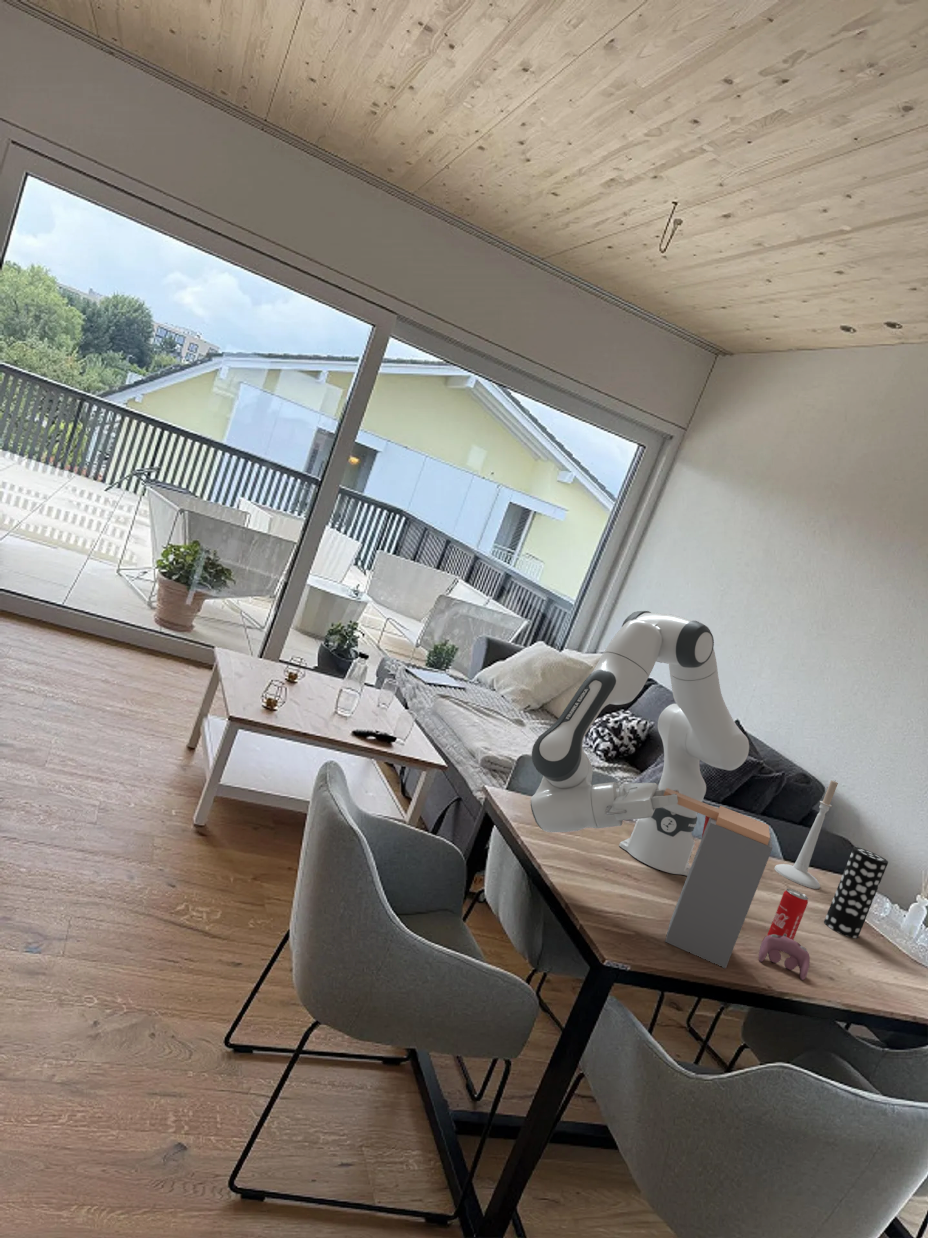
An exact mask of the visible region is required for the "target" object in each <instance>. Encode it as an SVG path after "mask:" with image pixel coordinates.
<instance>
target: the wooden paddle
mask: <svg viewBox="0 0 928 1238" xmlns="http://www.w3.org/2000/svg"><path fill="white" fill-rule="evenodd" d="M670 794H677V796H678V803H677V804H678V805H681V806H683V807H685V808H688V809H690V810H693V811H695V812H698V814H700V815H703V816H707V817H710V818H712V819H715V820H716V825H719V826H721V827H724V828H726V829H729V830H731V831H734V832H736V833H738V834H741V835H743V836H746V837H748V838H751V839H753V840H755V841H758V842H760V843H763V844H765V845H768V842H769V840H770V833H771V832H770V827H769V826H770V825H769V824H768V823H767V824H766V823H765V822H762V821H760V820H757V819H754V818H752V817H750V816H747V815H745V814H742V813H739V812H737V811H734V810H732V809H730V808H727V807H724V806H722V805H719V807H718V808H719V809H718V808H715V807H716V806H712V805H710V804H708V803H705V802H703V801H702V802H700V801H698V800H696V799H693V798H691V797H688V796H686V795H683V794H681V793H678V792H676V791H673V790H671V789H668V788H666V790H665V793H664V795H663V796H666V795H670Z"/></svg>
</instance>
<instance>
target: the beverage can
mask: <svg viewBox="0 0 928 1238" xmlns="http://www.w3.org/2000/svg"><path fill="white" fill-rule="evenodd" d="M808 900H809V897H808V896H807V895H806V894H804V893H802V892H800V891H798V890H796V889H793V888H788V887H787V888H786V889H785V890H784V891H783V893H782V896H781V898H780V901H779V903H778V906H777V909H776V912H775V914H774V917H773V919H772V922H771V924H770V927H769V930H768V932H767V935H766V936H768V935H772V934H775V935H780V936H785V937H787V938H790V939H792V940H794V938H795V936H796V934H797V932H798V929H799V926H800V924H801V921H802V919H803V916H804V914H805V911H806V909H807V906H808V903H809V901H808Z"/></svg>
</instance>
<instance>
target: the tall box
mask: <svg viewBox="0 0 928 1238" xmlns="http://www.w3.org/2000/svg"><path fill="white" fill-rule="evenodd" d="M769 833H770V840H769V842H768V845H765V844H763V843H760V842H758V841H755V840H753V839H751V838H748V837H746V836H743V835H741V834H738V833H736V832H734V831H731V830H729V829H726V828H724V827H721V826H719V825H716V820H715V819H712V818H709V821H708V823H707V826H706V829H705V831H704V834H703V836H702V835H701V839H700V842H699V845H698V847H697V850H696V851H695V852H696V853H695V855H694V857H693V860H692V864H691V865H690V867H691V868H690V871H689V873H688V876H686V879H685V881H684V885H683V886H682V889H681V892H680V894H679V896H678V899H677V902H676V906H675V907H674V911H673V913H672V915H671V917H670V921H669V924H668V928H667V933H666V936H665V943H668V944H669V945H672V946H674V947H675V948H678V949H680V950H683V951H685V952H687V953H689V952H690V954H691V955H694V956H696V955H697V956H696V957H698V956H699V958H700V957H701V958H700V959H703V960H705V959H706V961H707V962H709V961H710V962H709V963H712V964H714V963H715V964H714V965H716V964H718V965H719V967H720V966H722V967H721V968H723V969H725V968H726V969H727V966H728V964H729V961H730V959H731V956H732V953H733V951H734V948H735V945H736V943H737V940H738V938H739V936H740V932H742V931H741V930H742V928H743V925H744V923H745V921H746V917H747V915H748V912H749V909H750V907H751V905H752V902H753V900H754V897H755V894H756V892H757V889H758V887H759V884H760V882H761V879H762V876H763V874H764V871H765V869H766V866H767V863H768V861H769V858H770V856H771V854H772V852H773V847H774V846H773V842H772V834H771V832H769ZM718 965H717V966H718Z"/></svg>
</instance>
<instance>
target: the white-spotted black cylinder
mask: <svg viewBox="0 0 928 1238" xmlns="http://www.w3.org/2000/svg"><path fill="white" fill-rule="evenodd" d="M888 864H889V861H888V860H887V859H886V858H884V857H882V856H881V855H879V854H876V853H875V852H873V851H869V850H867V849H865V848H861V847H859V846H854V847H853V848H852V850H851V853H850V855H849V858H848V860H847V863H846V866H845V868H844V871H843V872H842V876H841V878H840V880H839V883H838V885H837V888H836V890H835V893H834V895H833V898H832V901H831V904H830V906H829V908H828V911H827V913H826V916H825V918H824V921H823V923H824V924H825V925H826V926H827V927H828V928H830V929H831V930H832V931H835V932H836V933H838V934H841V935H843V936H846V937H849V938H851V939H852V938H853V939H858V938H859V937H860V934H861V931H862V929H863V927H864V925H865V921H866V919H867V918H868V914H869V912H870V909H871V907H872V905H873V901H874V899H875V896H876V894H877V892H878V889H879V887H880V884H881V882H882V880H883V876H884V874H885V871H886V869H887V866H888Z"/></svg>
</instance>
